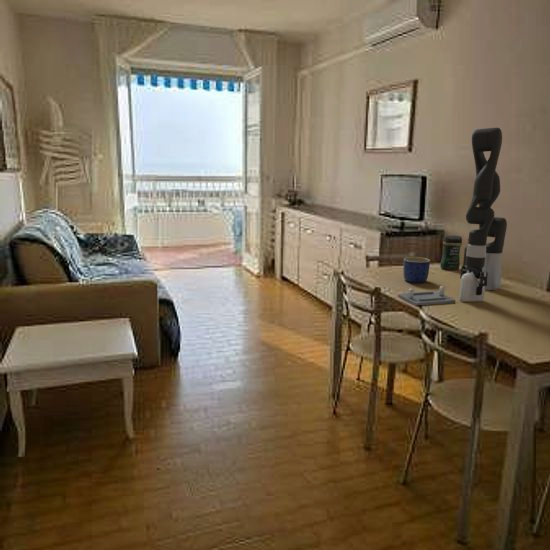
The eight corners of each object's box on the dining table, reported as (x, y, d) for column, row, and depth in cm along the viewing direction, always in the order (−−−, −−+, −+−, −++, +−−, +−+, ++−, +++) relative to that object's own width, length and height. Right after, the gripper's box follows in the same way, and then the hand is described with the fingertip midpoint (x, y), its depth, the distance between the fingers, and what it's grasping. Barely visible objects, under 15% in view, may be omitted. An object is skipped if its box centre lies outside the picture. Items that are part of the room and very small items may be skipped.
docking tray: (436, 293, 215) (436, 282, 214) (455, 302, 202) (456, 290, 201) (398, 296, 210) (398, 285, 209) (415, 306, 197) (416, 293, 196)
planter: (433, 283, 233) (435, 261, 231) (410, 284, 231) (412, 262, 228) (419, 277, 245) (421, 256, 243) (397, 278, 242) (399, 257, 240)
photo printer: (479, 298, 208) (482, 271, 205) (484, 301, 204) (488, 273, 201) (457, 299, 207) (459, 271, 204) (462, 302, 203) (465, 274, 200)
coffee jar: (444, 270, 260) (447, 236, 256) (438, 267, 268) (441, 234, 263) (461, 270, 261) (464, 236, 256) (455, 267, 268) (458, 234, 264)
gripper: (495, 258, 195) (490, 296, 199) (472, 251, 208) (468, 287, 212) (479, 258, 193) (475, 297, 197) (457, 252, 206) (453, 288, 210)
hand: (471, 292), depth 205 cm, fingers open, 8 cm apart
